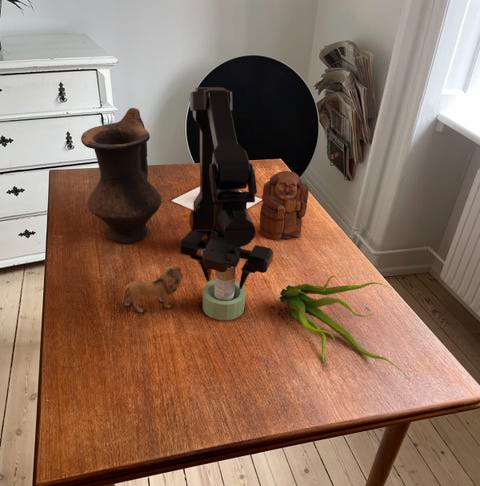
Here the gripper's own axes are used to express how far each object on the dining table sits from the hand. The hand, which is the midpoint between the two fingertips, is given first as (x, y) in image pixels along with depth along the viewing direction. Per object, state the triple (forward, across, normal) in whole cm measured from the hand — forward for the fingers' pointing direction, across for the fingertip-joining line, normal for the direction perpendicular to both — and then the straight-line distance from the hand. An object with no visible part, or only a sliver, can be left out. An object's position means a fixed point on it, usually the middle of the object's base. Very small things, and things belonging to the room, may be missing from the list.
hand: (224, 284), depth 108 cm
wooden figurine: (+7, +4, +37) cm, 38 cm away
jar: (+6, 0, 0) cm, 6 cm away
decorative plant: (+6, +26, -1) cm, 27 cm away
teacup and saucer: (+6, -19, +49) cm, 53 cm away
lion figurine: (+6, -15, -5) cm, 17 cm away
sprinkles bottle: (+6, 0, 0) cm, 6 cm away
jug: (+6, -34, +21) cm, 40 cm away
